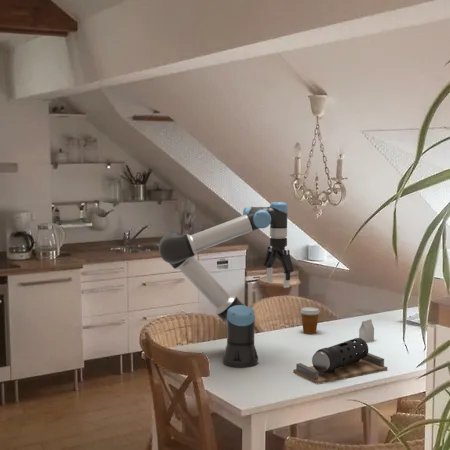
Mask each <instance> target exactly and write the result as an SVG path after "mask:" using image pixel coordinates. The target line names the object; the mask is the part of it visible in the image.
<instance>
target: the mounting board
mask: <svg viewBox="0 0 450 450" xmlns="http://www.w3.org/2000/svg"><path fill="white" fill-rule="evenodd" d="M295 365H296V366H295V367H296V368H294V369H293V370H292V371H293V374H295V375H297V376H300V377H302V378H304V379H306V380H308V381H310V382H312V383H314V384H316V383H317V384H316V385H319V384H318V383H320V384H324V383H323V382H325V383H330V382H334V381H340V380H344V378H345V379H350V378H354V377H359V376H365V375H369V374H370V375H371V374H374V372H375V373H379V371H380V372H384V370H385V371H388V367H387V366H385V358H382V357H380V356H377V355H375V354H372V353H370V352H368V354H367V356H366V357H365V358H363V359H360V361H358V362H355V363H353V364H350V365H346V366H344V367H339V368H337V369H335V371H333V372H331V373H329V372H328V373H323V372H322V373H321V372H318V371H317V370H316V369H315V368H314V366H313V365H311V366H307V365H305V364H304V363H301V362H298V363H295ZM364 374H365V375H364ZM329 381H330V382H329Z"/></svg>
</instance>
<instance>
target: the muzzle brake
mask: <svg viewBox="0 0 450 450" xmlns="http://www.w3.org/2000/svg"><path fill="white" fill-rule="evenodd" d="M368 353H369V345H368V342H367V343H366V342H365V341H364V340H363V339H361V338H359V337H355V338H351V339H349V340H345V341H343V342H340V343H337V344H334V345H332V346H329V347H323V348H320V349H318V350H316V352H315V353H314V354H313V355H312V358H311V364H312V366H314V368H315V369H316V370H317V371H318V372H321V373H322V372H323V373H328V372H329V373H331V372H333V371H335V369H337V368H339V367H344V366H346V365H350V364H353V363H355V362H358V361H360V359H363V358H365V357H366V356H367V354H368Z"/></svg>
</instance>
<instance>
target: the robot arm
mask: <svg viewBox="0 0 450 450" xmlns="http://www.w3.org/2000/svg"><path fill="white" fill-rule="evenodd" d="M288 215H289V214H288V204H287V203H286V202H283V201H278V202H277V201H276V202H274V201H273V202H271V203H270V206H267V207H266V206H245V207H244V208H243V211H242V215H241V216H238V217H236V218H233V219H231V220H227V221H226V222H223V223H220V224H217V225H214V226H212V227H209V228H207V229H204V230H201V231H199V232H195V233H194V234H193V233H192V234H191V235H190V234H188V233H187V234H184V235H183V234H182V235H180V234H179V233H176V232H168V233H166V234H165V235H164V236H162V237H161V239H160V240H159V242H158V250H159V252H158V253H159V255H160V257H161V259H162V260H163V261H164V262H166V263H168V264H169V265H170V266H171V267H172V268H173V269H174V270H180V271H181V273H182V274H183V275H184V276H186V278H187V279H188V281H190V282H191V283H192V284H193V286H195V288H197V290H198V291H199V292H200V293H201V294H202V295H203V296H204V297H205V298H206V299H207V300H208V302H209V303H210V304H211V305H212V306H213V307H214V309H215V314H216V315H217V316H218V317H219V318H220V320H222V322H223V323H224V324H225V326H226V346H225V349H224V352H223V355H222V363H223V364H224V365H225V366H229V367H231V368H232V367H234V368H249V367H253V366H257V364H259V356H258V352H257V349H256V346H255V345H256V344H255V323H256V322H255V319H256V315H255V310H254V309H253V307H251V306H247V305H245V303H243V302H242V301H241V300H240V299H239V298H238V297H237V296H236V295H233V294H229V292H228V291H227V290H226V289H225V288H224V287H223V286H222V285H221V284H220V283H219V281H218V280H217V279H216V278H215V277H214V276H213V275H212V274H211V273H210V272H209V270H208V269H206V267H204V265H203V264H202V263H201V262H200V261H199V260H198V259H197V258H196V255H197V254H198V252H201V251H204V250H206V249H209V248H211V247H215V246H216V245H219V244H222V243H224V242H228V241H230V240H233V239H235V238H237V237H241V236H243V235H247V234H248V233H250V232H254V231H257V230H260V229H266V228H268V227H270V228H269V237H270V238H269V246H267V252H266V255H265V257H264V261H263V263H262V264H263V266H265V268H266V269H265V270H266V272H265V273H266V283H273V270H274V268H273V265H274V263H275V261H276V259H278V260H279V261H280V263H281V266H282V268H283V270H284V272H283V288H284V289H286V288H290V287H291V285H290V283H291V282H290V281H291V273H293V272H294V267H293V262H292V259H291V254H290V249H286V247H287V245H288V238H287V237H288Z"/></svg>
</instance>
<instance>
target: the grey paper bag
mask: <svg viewBox="0 0 450 450" xmlns="http://www.w3.org/2000/svg"><path fill="white" fill-rule="evenodd" d="M358 330H359V331H358V333H359V334H358V338H361V339H363V340H364V341H365V342H366V343H367V344H368V343H370V342H374V340H375V327H374V324H373V320H372V319H367V320H363V321H362V322H361V325H360V327H359V329H358Z"/></svg>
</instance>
